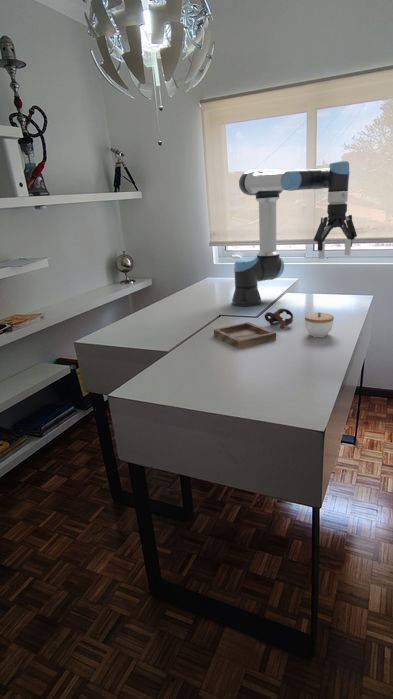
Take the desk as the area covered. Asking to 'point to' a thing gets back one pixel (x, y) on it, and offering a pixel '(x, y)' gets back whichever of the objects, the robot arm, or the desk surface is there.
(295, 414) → the desk surface
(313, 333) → the lidded jar
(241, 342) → the walnut tray
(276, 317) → the broken clay pot
